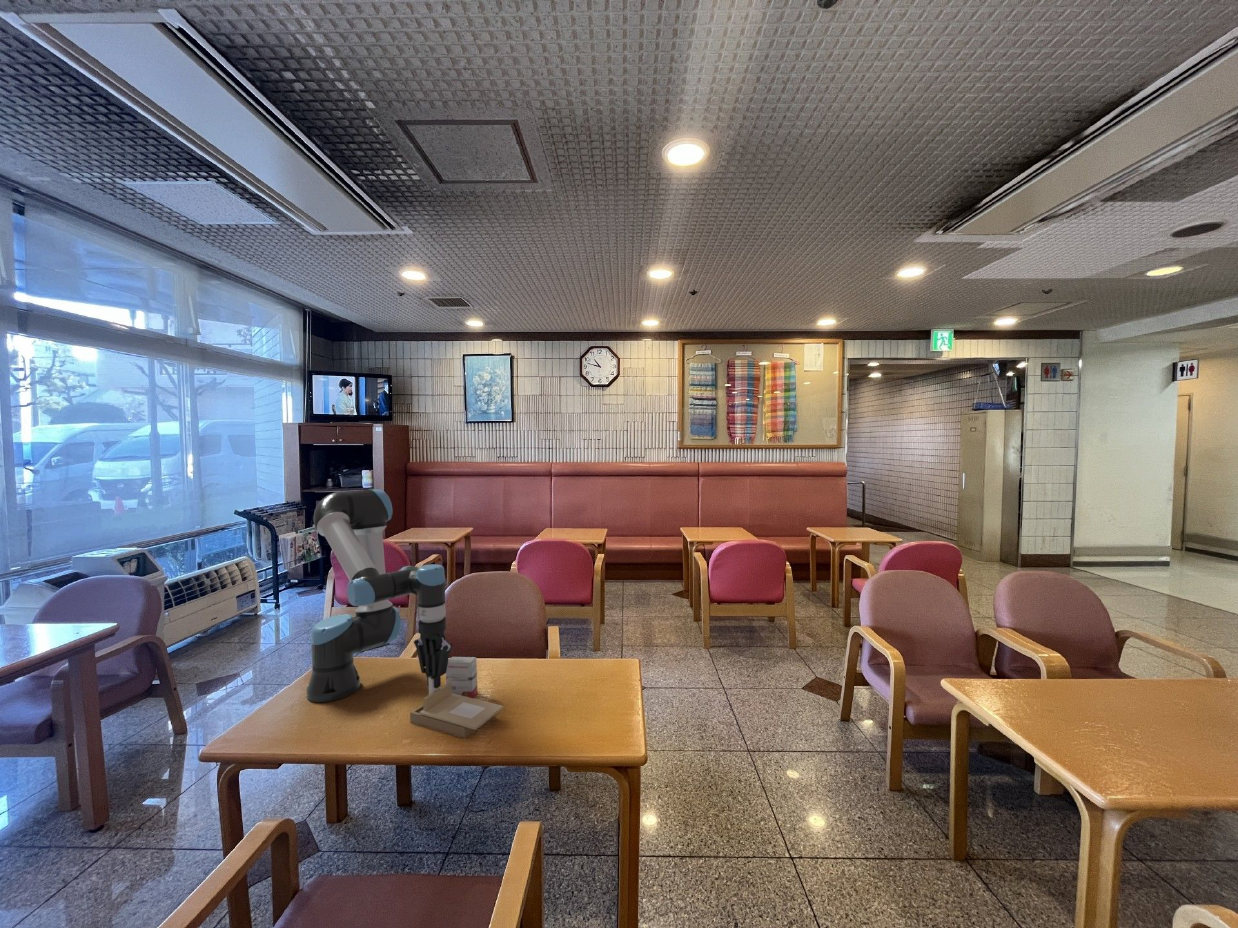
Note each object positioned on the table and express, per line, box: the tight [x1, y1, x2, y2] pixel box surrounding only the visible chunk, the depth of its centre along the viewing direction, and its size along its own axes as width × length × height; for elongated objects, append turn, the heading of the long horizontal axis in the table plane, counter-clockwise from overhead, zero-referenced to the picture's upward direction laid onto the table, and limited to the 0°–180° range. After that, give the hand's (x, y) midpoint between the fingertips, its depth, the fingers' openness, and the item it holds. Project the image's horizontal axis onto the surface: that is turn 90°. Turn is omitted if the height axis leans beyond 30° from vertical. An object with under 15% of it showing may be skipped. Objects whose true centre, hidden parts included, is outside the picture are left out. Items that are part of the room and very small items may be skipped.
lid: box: [419, 683, 504, 731], centre depth 141 cm, size 20×12×4 cm, turn 66°
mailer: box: [409, 704, 493, 740], centre depth 143 cm, size 20×12×3 cm, turn 66°
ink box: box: [445, 656, 479, 699], centre depth 157 cm, size 9×5×12 cm, turn 84°
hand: (434, 697), depth 146 cm, fingers closed
